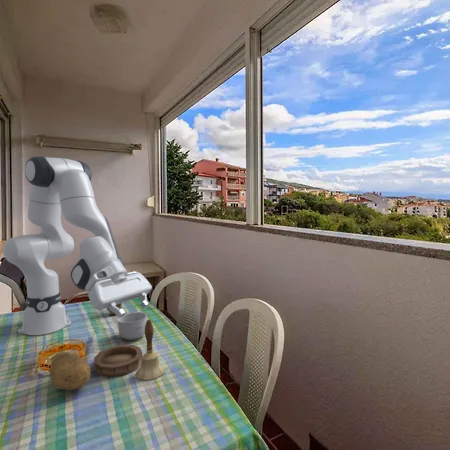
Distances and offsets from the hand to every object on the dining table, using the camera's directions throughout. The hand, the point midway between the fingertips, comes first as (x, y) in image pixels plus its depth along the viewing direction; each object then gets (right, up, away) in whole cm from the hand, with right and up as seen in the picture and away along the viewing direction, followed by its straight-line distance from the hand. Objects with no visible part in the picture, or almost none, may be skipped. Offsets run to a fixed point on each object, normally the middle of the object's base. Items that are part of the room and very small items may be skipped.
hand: (134, 311), depth 92 cm
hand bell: (+5, -18, -2) cm, 19 cm away
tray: (-6, -18, +3) cm, 19 cm away
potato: (-15, -19, -9) cm, 25 cm away
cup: (-23, -15, +46) cm, 54 cm away
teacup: (-7, -16, +24) cm, 30 cm away
